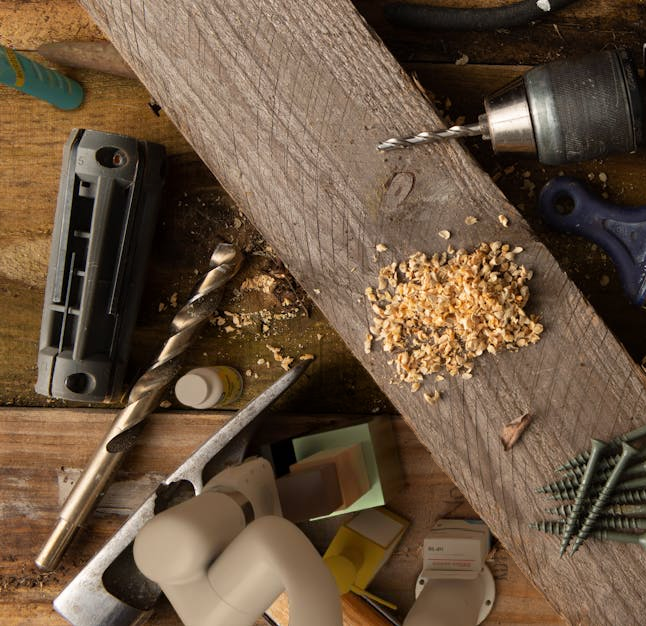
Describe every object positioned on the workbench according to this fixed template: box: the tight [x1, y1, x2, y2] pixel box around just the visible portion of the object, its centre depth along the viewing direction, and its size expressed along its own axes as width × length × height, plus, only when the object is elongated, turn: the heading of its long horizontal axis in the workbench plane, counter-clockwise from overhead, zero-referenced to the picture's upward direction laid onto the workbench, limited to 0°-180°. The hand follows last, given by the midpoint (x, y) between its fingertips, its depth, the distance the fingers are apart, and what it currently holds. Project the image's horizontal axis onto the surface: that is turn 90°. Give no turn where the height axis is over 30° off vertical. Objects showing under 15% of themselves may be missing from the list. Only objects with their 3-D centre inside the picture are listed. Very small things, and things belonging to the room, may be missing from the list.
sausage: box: [37, 40, 140, 81], centre depth 124 cm, size 6×18×6 cm
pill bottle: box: [174, 365, 244, 410], centre depth 121 cm, size 6×6×11 cm
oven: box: [292, 412, 406, 522], centre depth 120 cm, size 11×12×13 cm
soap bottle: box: [322, 505, 411, 611], centre depth 115 cm, size 7×13×24 cm, turn 60°
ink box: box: [420, 518, 491, 579], centre depth 120 cm, size 9×5×15 cm, turn 89°
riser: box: [290, 443, 371, 512], centre depth 108 cm, size 7×6×12 cm
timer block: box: [275, 462, 343, 524], centre depth 99 cm, size 6×6×6 cm
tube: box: [0, 43, 84, 111], centre depth 117 cm, size 7×5×19 cm, turn 32°
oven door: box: [248, 427, 320, 515], centre depth 121 cm, size 5×12×13 cm, turn 12°
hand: (277, 486), depth 110 cm, fingers closed
